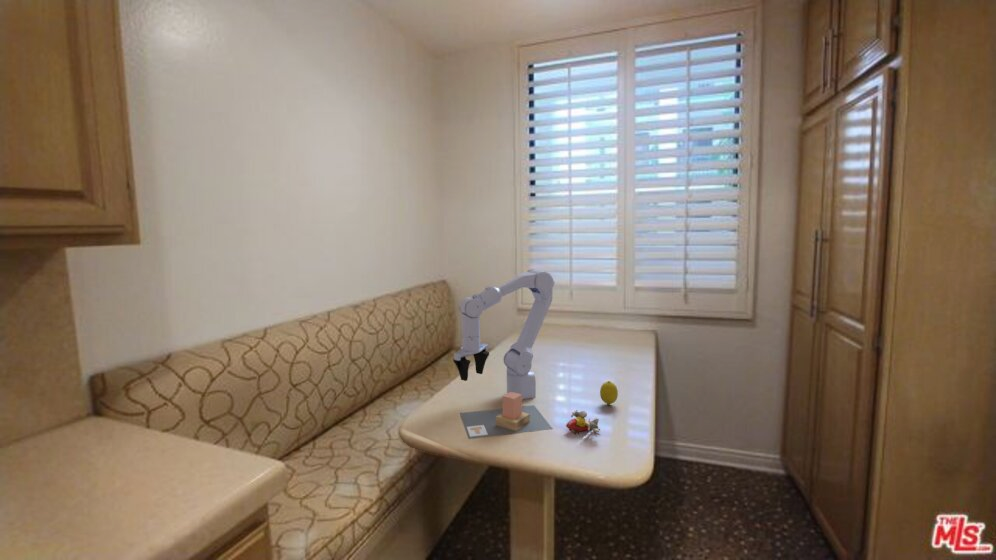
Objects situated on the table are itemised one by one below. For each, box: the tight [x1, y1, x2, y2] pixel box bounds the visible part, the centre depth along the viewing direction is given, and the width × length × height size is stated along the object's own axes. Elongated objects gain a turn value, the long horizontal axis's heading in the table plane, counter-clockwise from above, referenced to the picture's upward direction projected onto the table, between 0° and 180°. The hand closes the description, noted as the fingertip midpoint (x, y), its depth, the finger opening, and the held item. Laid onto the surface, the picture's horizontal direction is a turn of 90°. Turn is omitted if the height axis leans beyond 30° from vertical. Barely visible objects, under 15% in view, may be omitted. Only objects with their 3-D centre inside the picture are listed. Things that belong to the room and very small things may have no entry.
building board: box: [459, 404, 554, 440], centre depth 129 cm, size 24×17×1 cm
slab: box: [496, 412, 530, 431], centre depth 127 cm, size 7×7×2 cm
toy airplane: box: [565, 409, 601, 435], centre depth 123 cm, size 9×9×6 cm
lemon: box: [599, 380, 619, 406], centre depth 141 cm, size 6×6×8 cm
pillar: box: [502, 392, 523, 419], centre depth 127 cm, size 4×4×6 cm
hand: (471, 376), depth 141 cm, fingers open, 7 cm apart
